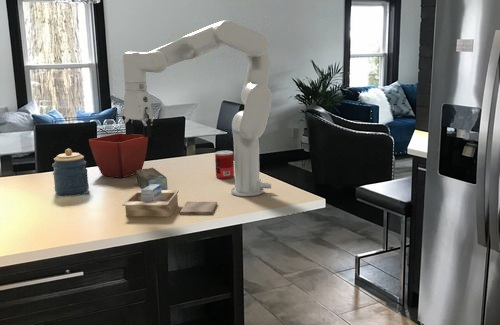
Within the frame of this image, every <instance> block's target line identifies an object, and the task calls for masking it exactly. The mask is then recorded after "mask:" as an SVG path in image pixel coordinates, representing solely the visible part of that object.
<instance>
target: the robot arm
mask: <svg viewBox="0 0 500 325" xmlns="http://www.w3.org/2000/svg"><path fill="white" fill-rule="evenodd" d="M269 43H270V42H269V40H268V38H267V36H266V35H265V34H263V33H262V32H260V31H257V30H255V29H252V28H249V27H248V26H245V25H242V24H240V23H237V22H235V21H232V20H229V19H227V20H221V21H220V20H219V21H218V22H215V23H213V24H210V25H207V26H205V27H203V28H200V29H198V30H195V31H193V32H191V33H189V34H187V35H184V36H182V37H181V38H178V39H175V41H172V42H170V43H168V44H165V45H163V46H160V47H158V48H155V49H153V50H151V51H149V52H148V51H146V52H142V51H125V52H124V53H123V54H122V63H123V64H122V65H123V79H124V80H123V81H124V94H123V95H124V96H123V109H122V110H120V114H121V118H122V120H123V124H124V128H125V134H126V135H131V134H134V123H133V121H140V122H142V124H143V126H142V133H143V134H142V135H144V137H145V138H146V137H148V138H149V137H151V138H152V126H153V123H154V121H155V116H156V115H155V113H154V112H153V110H152V105H151V104H152V102H151V98H150V94H149V91H147V89H148V86H147V75H146V74H147V73H154V74H159V73H162V72H164V71H165V70H166V69H167V68H169V67H170V66H173V65H175V64H178V63H180V62H183V61H189V60H193V59H197V58H200V57H201V56H204V55H206V54H209V53H210V52H213V51H215V50H218V49H220V48H222V47H225V46H227V47H230V48H233V50H234V49H235V50H236V51H239V52H241V54H243V55H244V56H245V58H246V62H247V69H246V70H247V71H246V74H245V78H244V82H243V86H242V90H241V94H240V99H241V102H242V103H243V104H244V109H243V110H240V111H238V112H237V113H235V115H234V116H233V118H232V121H231V130H232V138H233V139H232V140H233V155H234V187H233V188H231V190H230V192H231V194H232V195H233V196H237V197H256V196H260V195H262V194H264V192H265V190H264V189H270V190H271V189H272V183H269V182H263V181H262V180H261V179H260V142H259V141H260V140H259V138H261V137H262V136H263V134H264V132H265V130H266V127H267V124H268V119H269V115H270V113H271V109H272V104H273V93H272V91H271V89H270V88H269V87H268V84H269V79H270V74H271V69H272V68H271V66H272V65H271V64H272V63H271V58H270V55H269V52H268V49H269V48H270V47H269V46H270V44H269Z"/></svg>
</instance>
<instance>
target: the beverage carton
mask: <svg viewBox="0 0 500 325" xmlns="http://www.w3.org/2000/svg"><path fill="white" fill-rule="evenodd" d="M135 175H136V178H135V179H136V183H137V185H139V186H140V187H141V188H142V189H144V188H145V187H147V186H149V185H151V184H159V185H161V190H169V189H168V179H167V177H166V176H165V175H164V174H163V173H161V172H160V171H159V170H157V169H156V168H155V167H150V168H149V167H148V168H142V169H141V170H136V174H135Z"/></svg>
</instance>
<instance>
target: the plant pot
mask: <svg viewBox="0 0 500 325" xmlns="http://www.w3.org/2000/svg"><path fill="white" fill-rule="evenodd" d="M88 143H89V147H90V150H91V153H92V156H93V159H94V161H95V163H96V165H97V168H98V170H99V171H100V173H101V175H102V176H104V177H110V178H118V179H119V178H120V179H122V178H127V177H130V176H133V175H136V170H141V169H144V168H143V167H144V163H145V159H146V157H147V156H146V155H147V151H148V146H149V145H148V143H149V137H146V138H145V137H144V135H143V134H131V135H126V133H119V132H118V133H113V134H107V135H105V136H103V135H102V136H100V137H99V136H98V137H95V138H90V139H88Z"/></svg>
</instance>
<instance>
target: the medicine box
mask: <svg viewBox="0 0 500 325" xmlns="http://www.w3.org/2000/svg"><path fill="white" fill-rule="evenodd" d="M140 190H141V198H142V201H144V202H162V192H161V185H159V184H151V185H149V186H147V187H145V188H144V189H143V188H142V189H140Z"/></svg>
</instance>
